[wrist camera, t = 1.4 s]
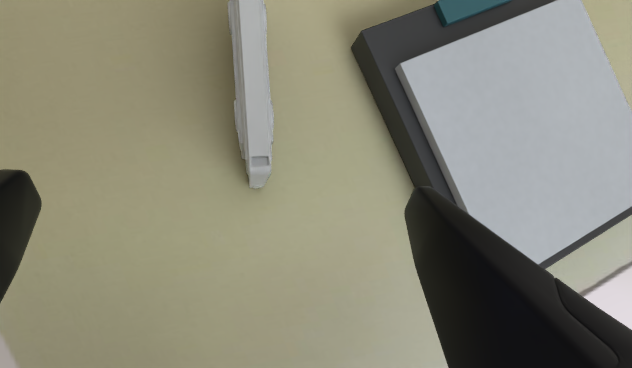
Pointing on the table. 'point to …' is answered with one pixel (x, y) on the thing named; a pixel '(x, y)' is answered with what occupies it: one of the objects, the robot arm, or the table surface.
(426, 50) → the scale
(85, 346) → the table surface
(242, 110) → the cassette
